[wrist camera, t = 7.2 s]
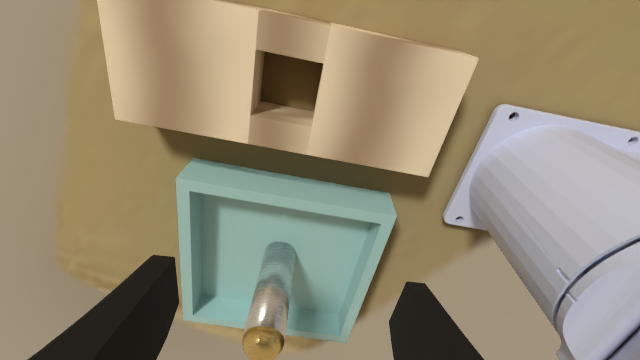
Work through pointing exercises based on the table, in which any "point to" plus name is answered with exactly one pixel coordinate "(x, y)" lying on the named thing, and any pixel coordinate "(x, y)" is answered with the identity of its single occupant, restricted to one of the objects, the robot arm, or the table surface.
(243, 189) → the tray
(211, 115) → the beige slotted block
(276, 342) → the pin
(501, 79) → the table surface
